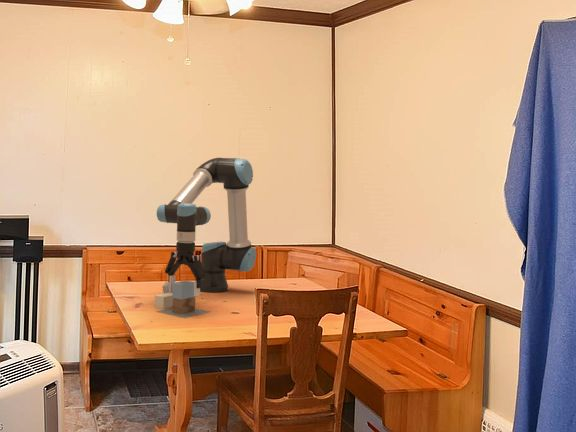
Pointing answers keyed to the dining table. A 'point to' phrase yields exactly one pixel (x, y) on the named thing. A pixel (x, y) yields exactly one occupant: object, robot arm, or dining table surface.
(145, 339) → the dining table surface
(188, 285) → the brick top
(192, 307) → the brick base
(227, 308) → the dining table surface
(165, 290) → the toy
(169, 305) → the brick
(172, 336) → the dining table surface
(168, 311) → the build board
